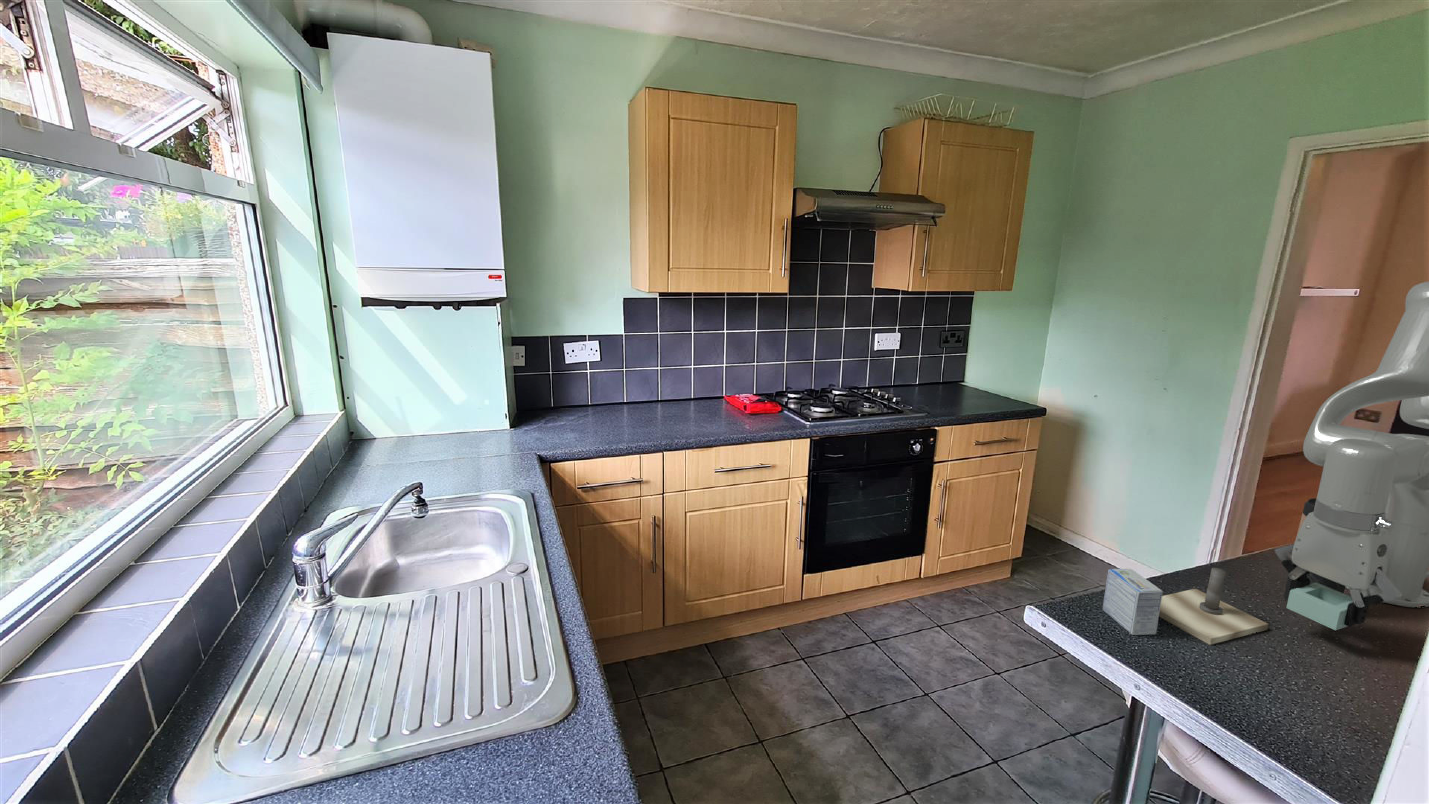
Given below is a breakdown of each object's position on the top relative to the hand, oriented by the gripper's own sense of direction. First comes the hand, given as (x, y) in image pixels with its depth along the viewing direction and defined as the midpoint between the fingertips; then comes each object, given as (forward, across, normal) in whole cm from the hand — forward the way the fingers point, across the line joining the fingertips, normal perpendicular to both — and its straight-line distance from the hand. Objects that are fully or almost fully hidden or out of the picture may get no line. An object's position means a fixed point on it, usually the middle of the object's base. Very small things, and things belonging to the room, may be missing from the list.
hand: (1324, 610), depth 97 cm
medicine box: (+5, +13, +26) cm, 30 cm away
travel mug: (+6, +7, -12) cm, 15 cm away
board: (+5, +10, +12) cm, 17 cm away
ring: (+1, 0, 0) cm, 1 cm away
